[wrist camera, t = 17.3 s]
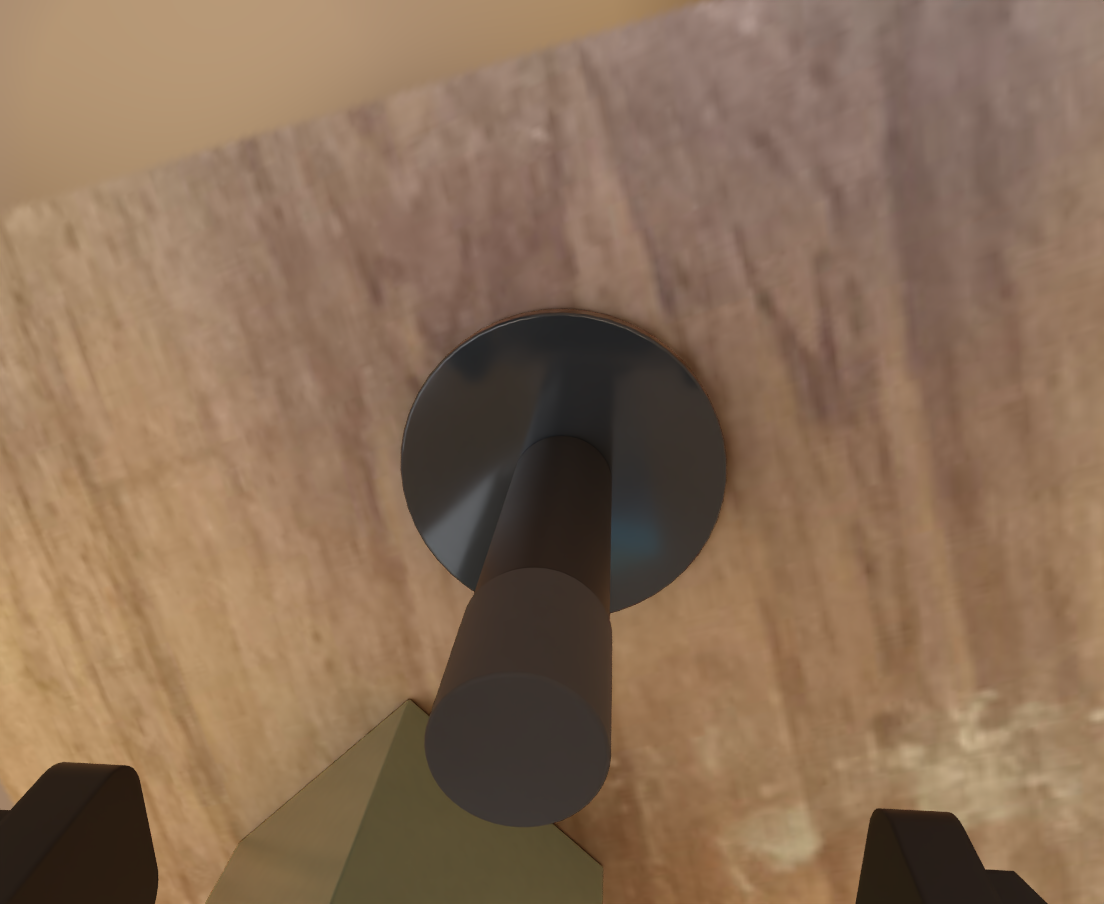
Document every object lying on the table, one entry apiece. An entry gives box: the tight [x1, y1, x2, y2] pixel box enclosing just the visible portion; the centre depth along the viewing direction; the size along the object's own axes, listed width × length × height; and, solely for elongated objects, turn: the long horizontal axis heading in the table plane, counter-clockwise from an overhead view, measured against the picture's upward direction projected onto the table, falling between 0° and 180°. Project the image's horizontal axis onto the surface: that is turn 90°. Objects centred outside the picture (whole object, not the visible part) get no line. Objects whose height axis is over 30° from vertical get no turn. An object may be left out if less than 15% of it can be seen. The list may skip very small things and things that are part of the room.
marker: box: [424, 436, 612, 827], centre depth 16 cm, size 2×2×10 cm
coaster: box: [401, 309, 727, 613], centre depth 21 cm, size 8×8×1 cm
